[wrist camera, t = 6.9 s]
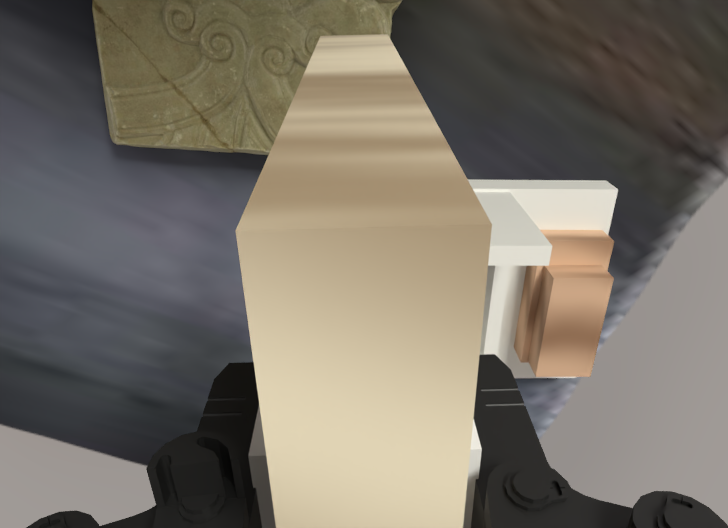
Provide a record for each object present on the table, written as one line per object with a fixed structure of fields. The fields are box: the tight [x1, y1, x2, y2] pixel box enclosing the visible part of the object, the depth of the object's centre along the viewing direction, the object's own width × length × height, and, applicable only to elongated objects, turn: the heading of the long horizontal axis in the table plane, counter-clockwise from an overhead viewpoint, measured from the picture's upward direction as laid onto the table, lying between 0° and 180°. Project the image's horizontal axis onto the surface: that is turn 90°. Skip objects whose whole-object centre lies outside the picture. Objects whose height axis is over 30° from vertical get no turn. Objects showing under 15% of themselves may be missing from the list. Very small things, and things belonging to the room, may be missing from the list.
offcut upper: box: [528, 265, 614, 377], centre depth 40 cm, size 8×4×2 cm, turn 179°
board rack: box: [468, 180, 618, 378], centre depth 39 cm, size 16×14×11 cm
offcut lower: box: [514, 230, 614, 363], centre depth 41 cm, size 10×5×2 cm, turn 179°
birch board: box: [236, 34, 492, 528], centre depth 13 cm, size 12×2×14 cm, turn 1°
